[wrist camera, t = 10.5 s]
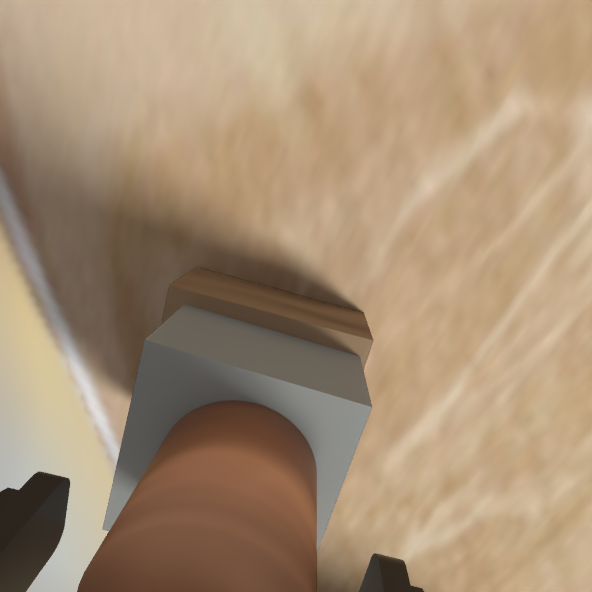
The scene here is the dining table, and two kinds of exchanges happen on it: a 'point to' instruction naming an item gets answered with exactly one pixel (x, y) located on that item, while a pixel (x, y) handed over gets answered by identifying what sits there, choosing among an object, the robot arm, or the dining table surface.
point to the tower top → (243, 395)
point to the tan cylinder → (217, 510)
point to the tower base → (272, 310)
